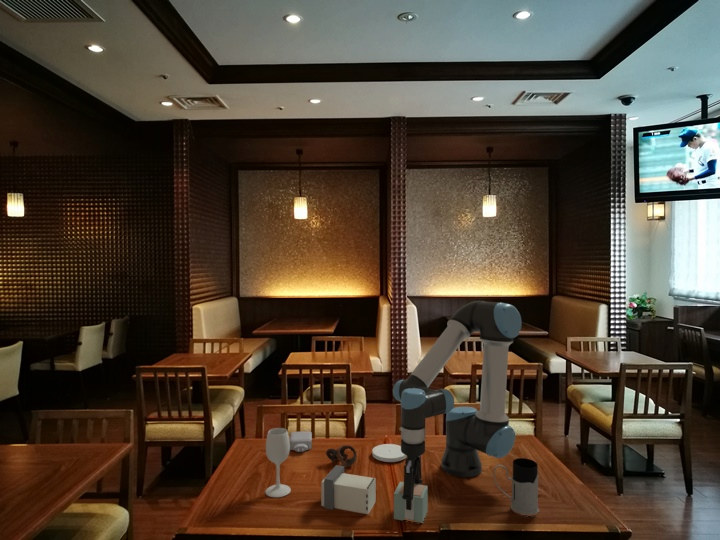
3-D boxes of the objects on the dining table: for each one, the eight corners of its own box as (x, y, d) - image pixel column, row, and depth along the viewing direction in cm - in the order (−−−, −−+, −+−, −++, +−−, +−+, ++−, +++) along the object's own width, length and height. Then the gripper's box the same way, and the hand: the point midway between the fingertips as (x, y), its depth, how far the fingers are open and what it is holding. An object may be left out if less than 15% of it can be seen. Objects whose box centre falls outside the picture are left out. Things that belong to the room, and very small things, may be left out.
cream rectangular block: (376, 500, 157) (376, 471, 157) (367, 516, 147) (367, 485, 147) (332, 492, 162) (332, 464, 162) (319, 507, 152) (319, 478, 152)
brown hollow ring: (353, 458, 191) (359, 445, 187) (352, 478, 182) (357, 464, 178) (324, 451, 190) (329, 438, 186) (321, 471, 181) (326, 457, 177)
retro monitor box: (427, 510, 150) (427, 485, 150) (422, 524, 143) (422, 497, 143) (400, 505, 153) (400, 481, 153) (393, 518, 146) (393, 492, 145)
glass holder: (541, 517, 147) (542, 470, 146) (494, 513, 149) (495, 466, 149) (536, 503, 155) (536, 458, 155) (491, 499, 158) (492, 455, 157)
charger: (289, 457, 191) (290, 442, 206) (311, 456, 192) (311, 441, 207) (288, 445, 191) (290, 431, 206) (311, 444, 192) (311, 431, 207)
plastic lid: (410, 463, 186) (410, 457, 186) (375, 465, 184) (375, 459, 184) (402, 448, 200) (402, 443, 199) (369, 450, 197) (369, 445, 197)
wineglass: (269, 500, 157) (269, 438, 157) (262, 488, 165) (261, 429, 164) (294, 494, 161) (294, 433, 161) (286, 483, 169) (285, 425, 168)
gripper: (408, 426, 158) (408, 493, 159) (392, 451, 138) (392, 527, 139) (431, 429, 156) (430, 497, 156) (417, 454, 136) (417, 531, 137)
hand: (412, 511), depth 148 cm, fingers closed on retro monitor box, 8 cm apart
